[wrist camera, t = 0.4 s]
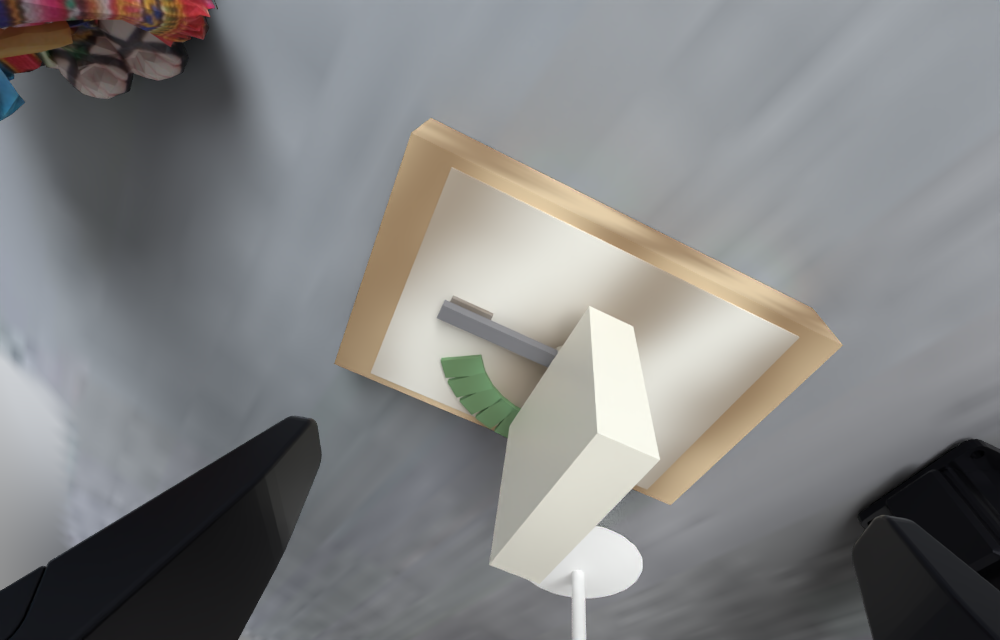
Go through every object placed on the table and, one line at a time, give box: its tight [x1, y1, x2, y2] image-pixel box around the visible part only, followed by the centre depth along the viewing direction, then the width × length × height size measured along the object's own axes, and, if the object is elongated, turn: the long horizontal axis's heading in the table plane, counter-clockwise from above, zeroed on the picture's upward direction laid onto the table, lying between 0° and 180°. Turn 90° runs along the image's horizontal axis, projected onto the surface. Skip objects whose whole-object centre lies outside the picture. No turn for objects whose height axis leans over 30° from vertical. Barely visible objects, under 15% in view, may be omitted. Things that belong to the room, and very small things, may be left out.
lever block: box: [334, 118, 843, 505], centre depth 19 cm, size 16×10×3 cm, turn 65°
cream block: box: [437, 300, 660, 584], centre depth 15 cm, size 6×6×7 cm
